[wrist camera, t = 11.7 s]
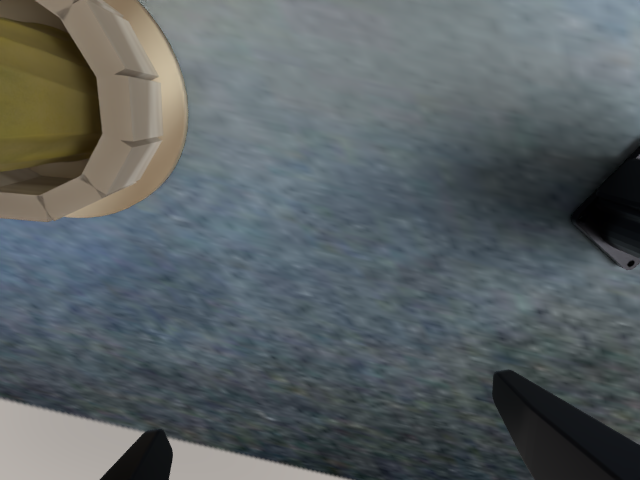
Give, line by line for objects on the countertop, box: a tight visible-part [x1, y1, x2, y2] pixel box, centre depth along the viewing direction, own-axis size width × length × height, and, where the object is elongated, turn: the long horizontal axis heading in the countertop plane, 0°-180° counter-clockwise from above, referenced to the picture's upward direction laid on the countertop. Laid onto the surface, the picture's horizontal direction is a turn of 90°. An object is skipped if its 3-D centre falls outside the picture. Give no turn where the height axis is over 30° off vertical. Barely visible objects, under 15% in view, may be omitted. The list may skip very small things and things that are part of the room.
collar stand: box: [0, 0, 188, 222], centre depth 15 cm, size 12×12×4 cm
